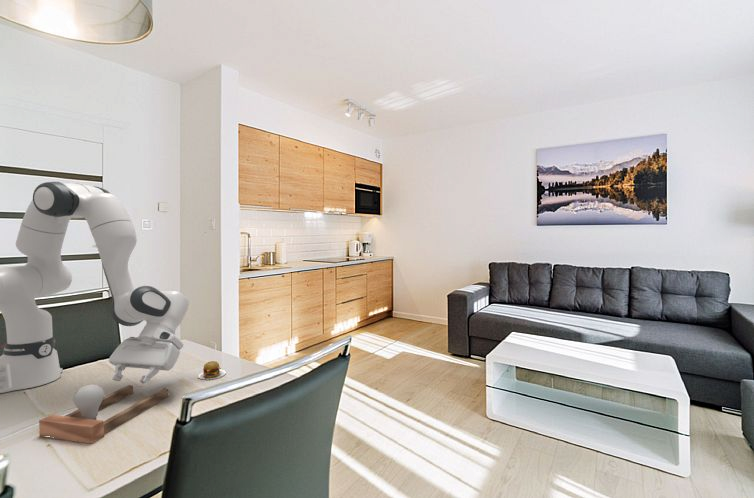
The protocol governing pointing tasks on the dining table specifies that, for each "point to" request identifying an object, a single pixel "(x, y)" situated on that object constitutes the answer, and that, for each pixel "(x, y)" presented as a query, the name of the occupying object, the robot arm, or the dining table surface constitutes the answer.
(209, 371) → the hamburger
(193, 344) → the dining table surface
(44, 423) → the guide track
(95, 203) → the robot arm
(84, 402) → the lightbulb
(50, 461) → the dining table surface
